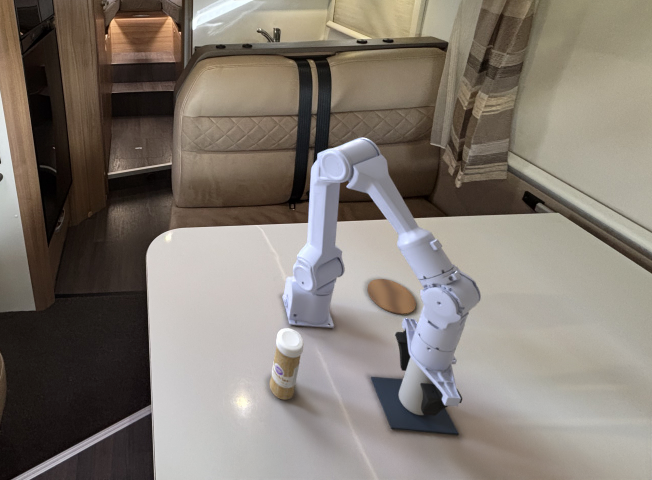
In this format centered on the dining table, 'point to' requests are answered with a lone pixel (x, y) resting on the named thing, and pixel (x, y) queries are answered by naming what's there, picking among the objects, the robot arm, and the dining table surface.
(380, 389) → the slate pad
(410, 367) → the beverage can
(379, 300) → the cork coaster
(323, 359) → the dining table surface
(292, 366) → the sprinkles bottle
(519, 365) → the dining table surface
